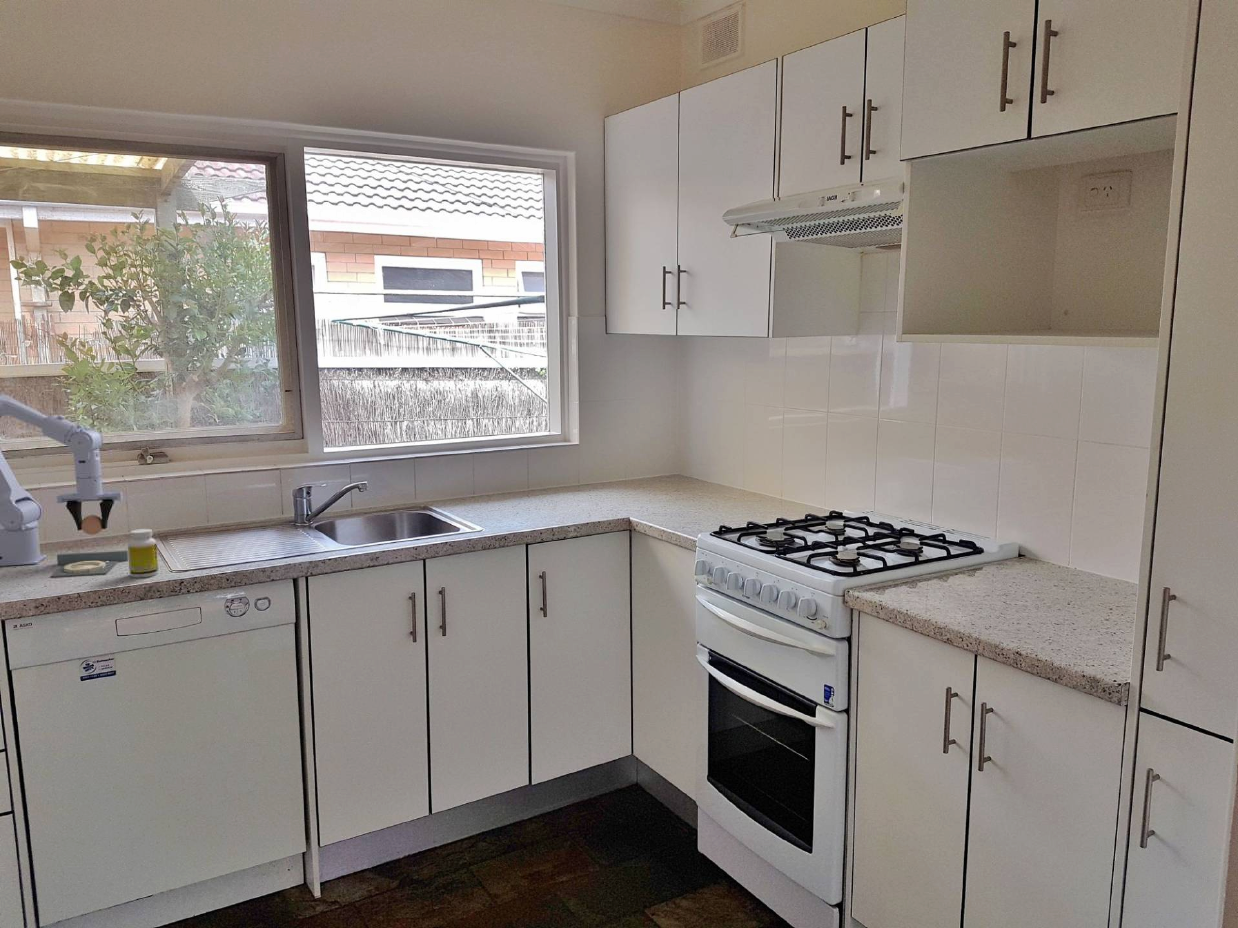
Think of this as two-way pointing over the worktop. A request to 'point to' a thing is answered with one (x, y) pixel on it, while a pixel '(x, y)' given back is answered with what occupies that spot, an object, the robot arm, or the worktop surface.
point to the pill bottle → (142, 554)
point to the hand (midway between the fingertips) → (92, 528)
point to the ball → (91, 524)
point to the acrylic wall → (92, 557)
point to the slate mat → (84, 568)
